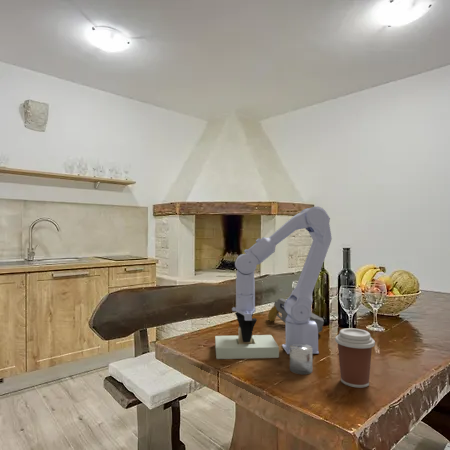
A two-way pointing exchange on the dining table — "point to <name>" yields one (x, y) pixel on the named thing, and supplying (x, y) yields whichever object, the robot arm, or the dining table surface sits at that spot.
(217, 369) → the dining table surface
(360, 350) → the coffee cup
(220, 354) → the socket plate
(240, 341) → the square peg
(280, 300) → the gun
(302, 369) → the round peg
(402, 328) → the dining table surface
